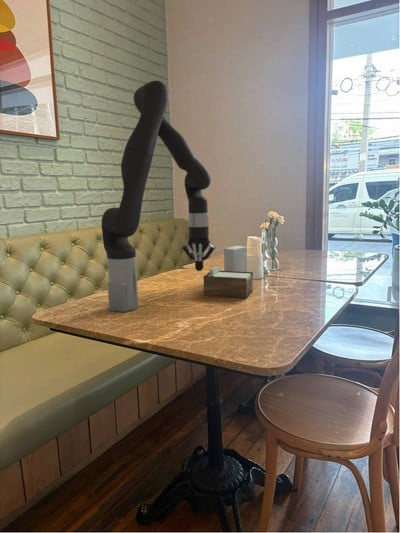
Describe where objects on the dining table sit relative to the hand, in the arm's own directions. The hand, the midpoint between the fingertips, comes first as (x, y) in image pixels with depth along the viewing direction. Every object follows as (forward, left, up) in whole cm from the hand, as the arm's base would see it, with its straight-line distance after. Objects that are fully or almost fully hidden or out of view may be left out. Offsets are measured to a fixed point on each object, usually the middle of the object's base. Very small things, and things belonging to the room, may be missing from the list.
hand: (199, 270), depth 150 cm
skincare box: (+19, -9, -8) cm, 23 cm away
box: (0, -11, -8) cm, 14 cm away
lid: (0, -12, -2) cm, 12 cm away
